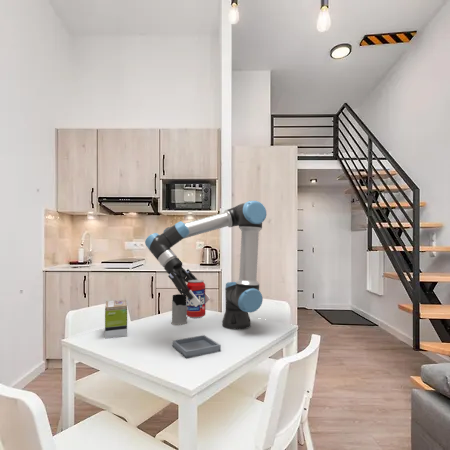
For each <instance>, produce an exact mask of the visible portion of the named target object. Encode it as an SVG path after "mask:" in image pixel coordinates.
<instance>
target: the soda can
mask: <svg viewBox="0 0 450 450" xmlns="http://www.w3.org/2000/svg"><path fill="white" fill-rule="evenodd" d="M186 285H187V287H188V289H189V291H190V290H191V291H192V292H193V293H194V295H195V296H196V297H197V298H198V300H199V301H200V302H201V303H200V304H199V305H198V306H197V307H195V306H194V304H193V303H192V302H191V301H190V299H189V298H188V297H187V296H186V304H187V316H188V317H187V318H189V319H203V317H205V316H206V303H205V292H206V284H205V282H204V280H203V279H198V280H189V281H188V283H187V282H186Z"/></svg>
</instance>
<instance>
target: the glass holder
mask: <svg viewBox="0 0 450 450" xmlns="http://www.w3.org/2000/svg"><path fill="white" fill-rule="evenodd" d="M182 294H183V293H182ZM182 294H180V293H178V294H173V295H172V300H171V301H172V302H171V303H172V304H171V325H172V326H183V325H184V326H186V325H187V324H188V318H189V317H188V316H187V299H186V295H184V296H183V295H182Z"/></svg>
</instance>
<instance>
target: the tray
mask: <svg viewBox="0 0 450 450" xmlns="http://www.w3.org/2000/svg"><path fill="white" fill-rule="evenodd" d="M172 348H173V349H174V350H175V351H177V352H178V353H179V354H180V355H182V356H183V358H185V359H190V358H195V357H202V356H205V355H210V354H215V353H219V352H221V351H222V350H221V344H220V343H218V342H216V341H215V340H213V339H212V338H210V337H208V336H207V335H205V334H202V335H198V336H192V337H186V338H180V339H179V338H178V339H175V340H172Z"/></svg>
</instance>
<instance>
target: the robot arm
mask: <svg viewBox="0 0 450 450" xmlns="http://www.w3.org/2000/svg"><path fill="white" fill-rule="evenodd" d="M266 219H267V210H266V207H265V205H264V204H263V203H262V202H261V201H258V200H249V201H246V202H243V203H240V204H238V205H235V206H233V207H231V208H228V209H225V210H224V211H223V212H220V213H218V214H214V215H211V216H207V217H201V218H199V219H195V220H192V221H188V222H183V221H181V220H180V221H178V222H176V223H174V225H172V226H169V227H166V228H165V229H164V230H163V232H162V233H161V234H159V233H157V232H153V233H152V234H150V235H148V236H147V237H146V238H145V240H144V244H145V247H147V249H148V250H149V252H150V253H151V254H152V256H153V257H154V258H155V259H156V260H157V261H158V262H159V264H160V266H162V267H163V269H164V270H165V272H166V273H167V274H168V276H167V277H168V278H169V280H171V282H172V283H173V284H174V286H175V288H176V289H177V290H178V292H179V294H182V295H183V296H184V295H186V296H187V297H188V298H189V299H190V301H191V302H192V303H193V304H194V306H195V307H197V306H198V305H199V304H200V303H201V302H200V301H199V300H198V298H197V297H196V296H195V295H194V293H193V292H192V291H191V290H190V291H189V289H188V287H187V283H188V281H189V280H199V279H198V278H197V277H196V276H195V274H193V273H192V272H191V270H190V269H189V268H187V269H184V267H183V262H182V261H181V260H180V258H179V257H178V256H177V255H176V254H175V252H174V251H173V250H172V249H171V248H172V247H175V245H176V244H178V243H179V242H180V241H182V240H183V239H188V238H191V237H194V236H198V235H202V234H204V233H205V234H206V233H208V232H212V231H216V230H218V229H219V230H220V229H223V228H226V227H228V228H233V227H237V226H238V229H239V230H240V232H241V236H240V237H241V238H240V256H239V274H238V275H239V277H238V280H236V281H228V282H226V283H225V288H224V291H225V312H224V316H223V318H222V321H221V322H222V327H223V328H226V329H229V330H244V329H249V328H250V327H251V326H252V325H251V324H252V323H251V322H252V321H251V318H250V315H249V314H250V313H254V312H256V311H258V310H259V309H260V307H262V304H263V301H264V299H263V295H262V292H261V291H260V283H259V282H258V281H257V279H258V277H257V275H258V274H257V273H258V258H259V257H258V254H259V253H258V252H259V234H260V233H259V232H260V231H261V230H263V223H264V221H265V220H266ZM210 300H211V298H210V296H209V295H208V294H207V293H206V291H205V304H206V303H208V302H209V301H210Z"/></svg>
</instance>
